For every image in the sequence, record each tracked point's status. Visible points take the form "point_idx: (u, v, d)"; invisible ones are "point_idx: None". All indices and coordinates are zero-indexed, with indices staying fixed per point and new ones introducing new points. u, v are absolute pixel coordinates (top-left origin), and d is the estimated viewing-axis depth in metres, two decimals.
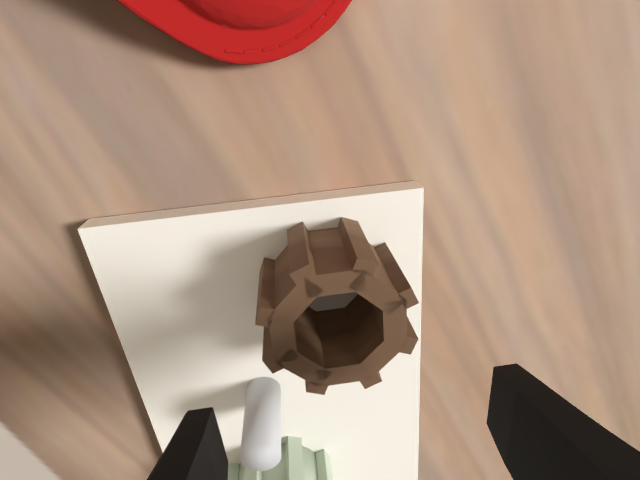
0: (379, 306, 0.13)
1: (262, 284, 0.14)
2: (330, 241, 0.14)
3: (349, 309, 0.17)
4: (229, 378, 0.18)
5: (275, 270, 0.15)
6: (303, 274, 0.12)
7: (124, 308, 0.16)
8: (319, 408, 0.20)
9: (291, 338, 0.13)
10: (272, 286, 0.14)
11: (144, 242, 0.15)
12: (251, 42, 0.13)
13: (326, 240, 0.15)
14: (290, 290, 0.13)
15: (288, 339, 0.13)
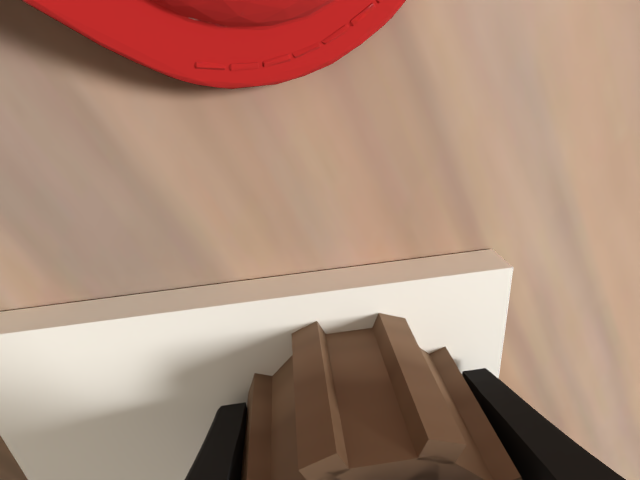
0: None
1: (250, 446, 0.08)
2: (365, 364, 0.09)
3: None
4: None
5: (272, 404, 0.09)
6: (325, 469, 0.06)
7: (37, 449, 0.10)
8: None
9: None
10: (267, 448, 0.08)
11: (59, 358, 0.09)
12: (243, 50, 0.07)
13: (358, 361, 0.09)
14: None
15: None
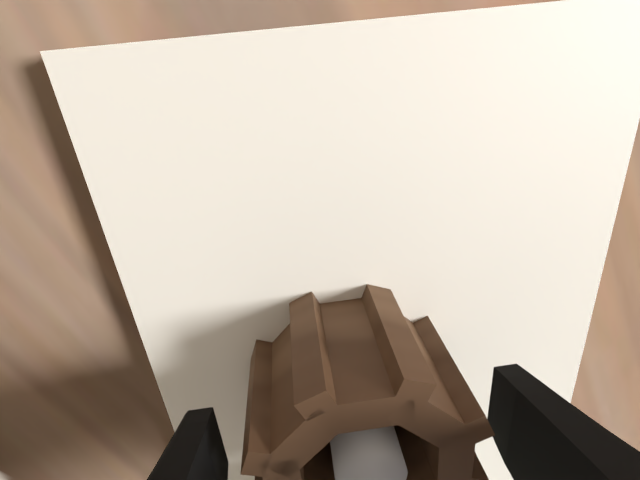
0: (434, 441, 0.08)
1: (253, 396, 0.09)
2: (353, 327, 0.10)
3: None
4: None
5: (272, 365, 0.10)
6: (316, 405, 0.08)
7: (128, 219, 0.09)
8: None
9: None
10: (268, 399, 0.09)
11: (165, 87, 0.08)
12: None
13: (347, 324, 0.10)
14: (295, 426, 0.08)
15: None
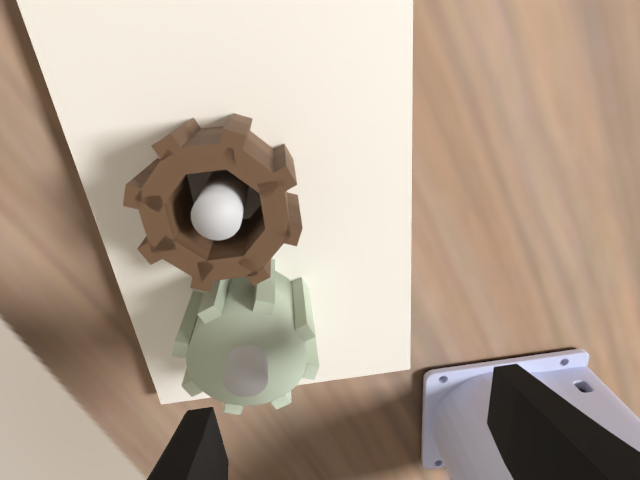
0: (255, 187, 0.13)
1: (141, 173, 0.13)
2: (215, 131, 0.14)
3: (252, 217, 0.16)
4: None
5: None
6: (166, 146, 0.12)
7: (54, 50, 0.13)
8: None
9: (165, 223, 0.13)
10: None
11: None
12: None
13: (212, 131, 0.14)
14: (156, 166, 0.12)
15: (162, 224, 0.13)
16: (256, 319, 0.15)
